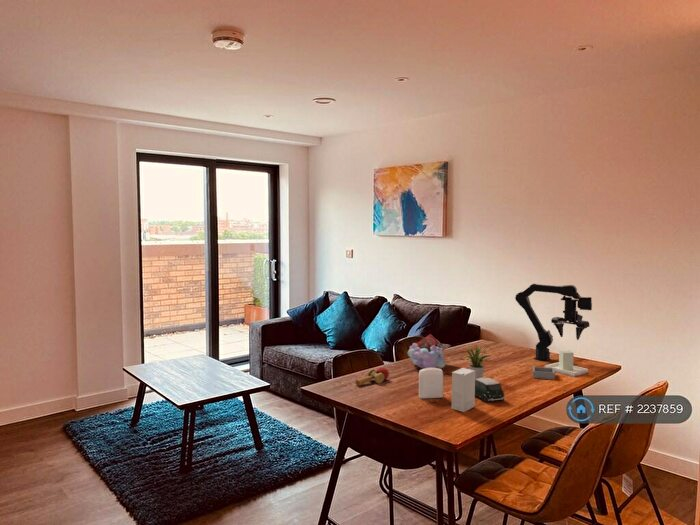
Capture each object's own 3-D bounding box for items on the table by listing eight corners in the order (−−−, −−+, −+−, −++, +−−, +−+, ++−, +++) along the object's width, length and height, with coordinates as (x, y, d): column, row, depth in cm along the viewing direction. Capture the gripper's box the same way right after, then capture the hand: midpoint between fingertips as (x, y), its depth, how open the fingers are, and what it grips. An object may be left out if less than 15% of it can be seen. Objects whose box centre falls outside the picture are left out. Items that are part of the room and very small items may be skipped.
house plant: (473, 385, 227) (474, 349, 226) (453, 378, 239) (454, 343, 238) (497, 381, 233) (498, 346, 232) (476, 374, 246) (477, 340, 245)
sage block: (558, 368, 254) (559, 350, 254) (568, 368, 254) (569, 350, 254) (562, 370, 249) (563, 352, 249) (573, 370, 249) (573, 352, 249)
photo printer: (419, 399, 208) (420, 369, 207) (417, 396, 212) (417, 366, 212) (444, 398, 209) (444, 369, 208) (441, 395, 213) (441, 366, 213)
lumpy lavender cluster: (407, 363, 247) (426, 332, 247) (397, 351, 268) (415, 323, 268) (441, 383, 250) (460, 352, 250) (429, 370, 272) (446, 341, 271)
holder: (532, 372, 249) (532, 366, 249) (553, 374, 246) (553, 368, 246) (532, 377, 240) (532, 371, 240) (554, 379, 237) (554, 373, 236)
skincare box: (461, 404, 202) (462, 367, 201) (475, 407, 198) (476, 370, 197) (450, 409, 196) (451, 371, 195) (464, 412, 192) (464, 374, 191)
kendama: (365, 391, 223) (394, 378, 234) (361, 377, 223) (391, 365, 234) (354, 390, 229) (383, 377, 240) (351, 376, 229) (380, 364, 240)
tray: (544, 369, 255) (544, 365, 255) (558, 366, 262) (558, 362, 261) (573, 376, 242) (574, 372, 241) (587, 372, 248) (588, 368, 248)
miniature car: (481, 389, 222) (481, 371, 221) (507, 402, 205) (507, 383, 204) (463, 392, 218) (463, 373, 218) (488, 405, 202) (488, 385, 201)
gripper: (595, 309, 264) (595, 339, 265) (563, 305, 279) (562, 333, 280) (583, 311, 258) (582, 342, 258) (551, 307, 273) (550, 336, 274)
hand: (569, 338), depth 268 cm, fingers open, 9 cm apart
